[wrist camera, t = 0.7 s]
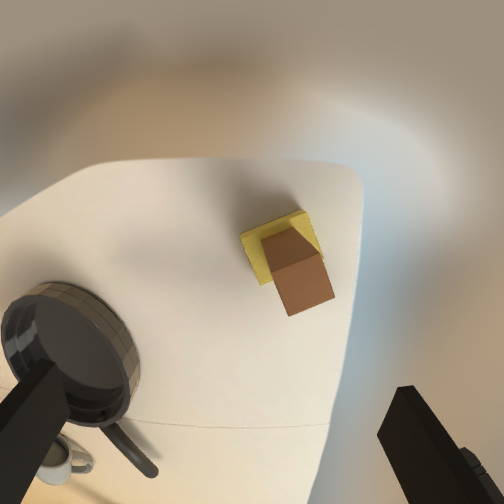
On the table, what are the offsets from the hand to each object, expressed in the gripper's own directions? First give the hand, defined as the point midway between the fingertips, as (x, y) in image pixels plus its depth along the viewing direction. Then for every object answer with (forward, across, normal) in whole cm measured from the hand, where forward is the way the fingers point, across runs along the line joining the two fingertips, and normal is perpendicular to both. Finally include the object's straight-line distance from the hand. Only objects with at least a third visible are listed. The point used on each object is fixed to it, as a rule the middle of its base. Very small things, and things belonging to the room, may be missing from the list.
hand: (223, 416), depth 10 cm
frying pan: (+19, -18, -12) cm, 29 cm away
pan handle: (+17, -12, -24) cm, 32 cm away
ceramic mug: (+19, -25, -33) cm, 45 cm away
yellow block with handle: (+19, +4, +2) cm, 20 cm away
